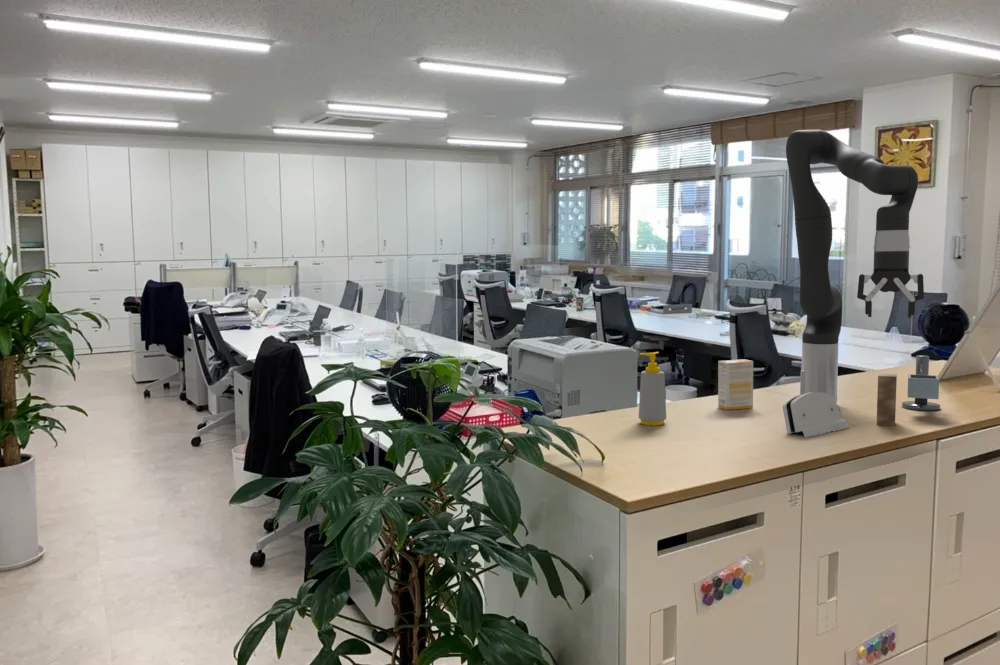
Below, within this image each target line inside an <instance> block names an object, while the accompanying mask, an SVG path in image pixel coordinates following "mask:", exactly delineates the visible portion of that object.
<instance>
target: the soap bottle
mask: <svg viewBox="0 0 1000 665" xmlns="http://www.w3.org/2000/svg"><path fill="white" fill-rule="evenodd" d="M656 354H657V355H658V354H659V351H654V352H640V353H639V356H646V357H649V360H650V362H648V363H647V367H645V370H643V371H641V372H640V386H639V405H638V419H640V422H641V424H642V425H645V426H661V425H664V424H665V420H667V401H666V382H665V381H666V379H665V372H664V371H663V370H661V368H660V367H659V366H658V363H657V362H656Z"/></svg>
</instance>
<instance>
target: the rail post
mask: <svg viewBox="0 0 1000 665" xmlns="http://www.w3.org/2000/svg"><path fill="white" fill-rule="evenodd" d="M897 376H898V374H896V373H894V374H893V373H878V374H877V395H876V396H877V397H876V400H877V401H876V402H877V403H876V425H879V426H880V425H881V426H889V427H890V426H893V427H896V412H897V411H896V410H897V409H896V407H897V406H896V405H897V379H898V378H897Z"/></svg>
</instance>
